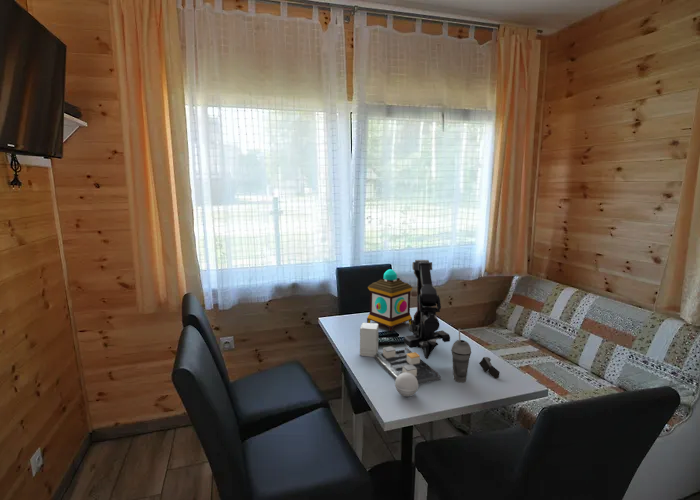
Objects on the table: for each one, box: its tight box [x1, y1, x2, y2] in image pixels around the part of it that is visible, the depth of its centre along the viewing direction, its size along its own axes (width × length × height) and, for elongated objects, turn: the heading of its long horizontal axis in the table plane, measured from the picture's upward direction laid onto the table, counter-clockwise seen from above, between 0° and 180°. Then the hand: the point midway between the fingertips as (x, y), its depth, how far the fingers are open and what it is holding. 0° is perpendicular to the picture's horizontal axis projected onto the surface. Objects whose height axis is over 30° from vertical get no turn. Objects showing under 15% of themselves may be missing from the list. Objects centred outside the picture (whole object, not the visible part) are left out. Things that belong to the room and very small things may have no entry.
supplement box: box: [359, 322, 379, 358], centre depth 160 cm, size 7×7×13 cm
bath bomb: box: [394, 372, 419, 398], centre depth 128 cm, size 8×8×8 cm
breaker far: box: [382, 346, 397, 358], centre depth 153 cm, size 4×4×3 cm
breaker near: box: [402, 364, 417, 376], centre depth 138 cm, size 4×4×3 cm
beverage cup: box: [450, 328, 472, 383], centre depth 137 cm, size 7×7×20 cm
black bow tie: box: [478, 356, 500, 379], centre depth 143 cm, size 9×2×6 cm
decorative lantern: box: [366, 268, 413, 332], centre depth 193 cm, size 20×20×30 cm
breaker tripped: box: [407, 351, 421, 364], centre depth 148 cm, size 4×4×3 cm
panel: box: [374, 347, 441, 385], centre depth 147 cm, size 16×25×2 cm, turn 21°
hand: (426, 358), depth 150 cm, fingers closed
